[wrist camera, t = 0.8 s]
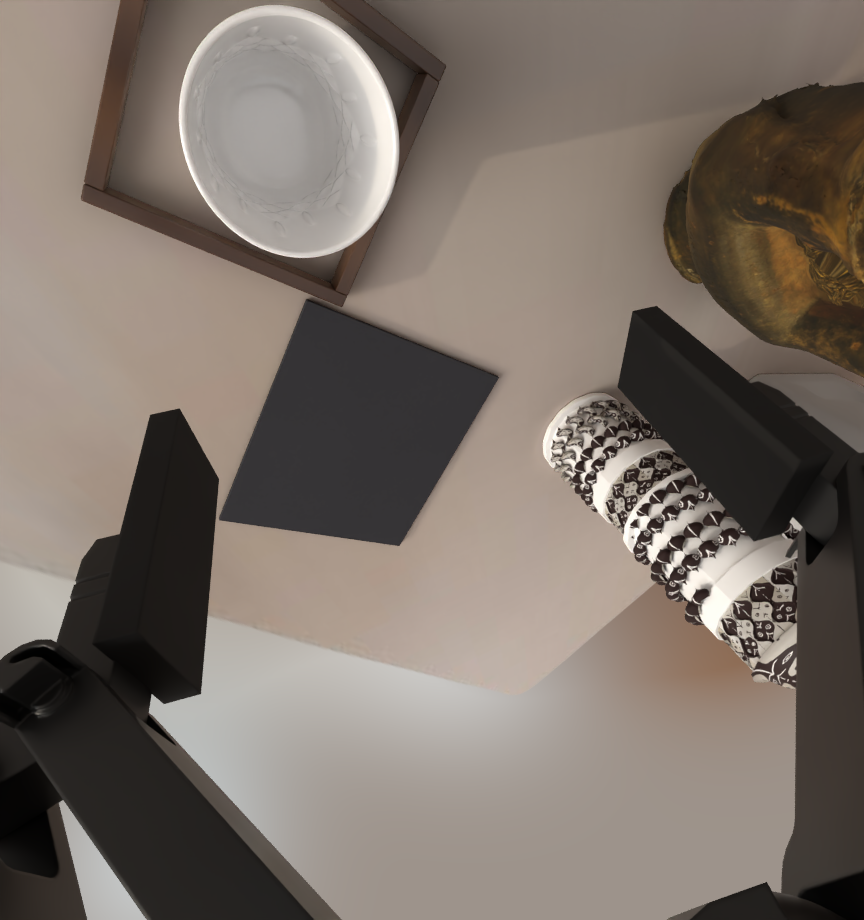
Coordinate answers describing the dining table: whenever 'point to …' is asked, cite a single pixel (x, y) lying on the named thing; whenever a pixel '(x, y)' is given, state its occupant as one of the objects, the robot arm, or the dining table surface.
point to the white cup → (289, 131)
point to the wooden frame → (96, 192)
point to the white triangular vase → (825, 404)
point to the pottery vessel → (781, 221)
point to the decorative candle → (682, 532)
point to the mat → (353, 431)
